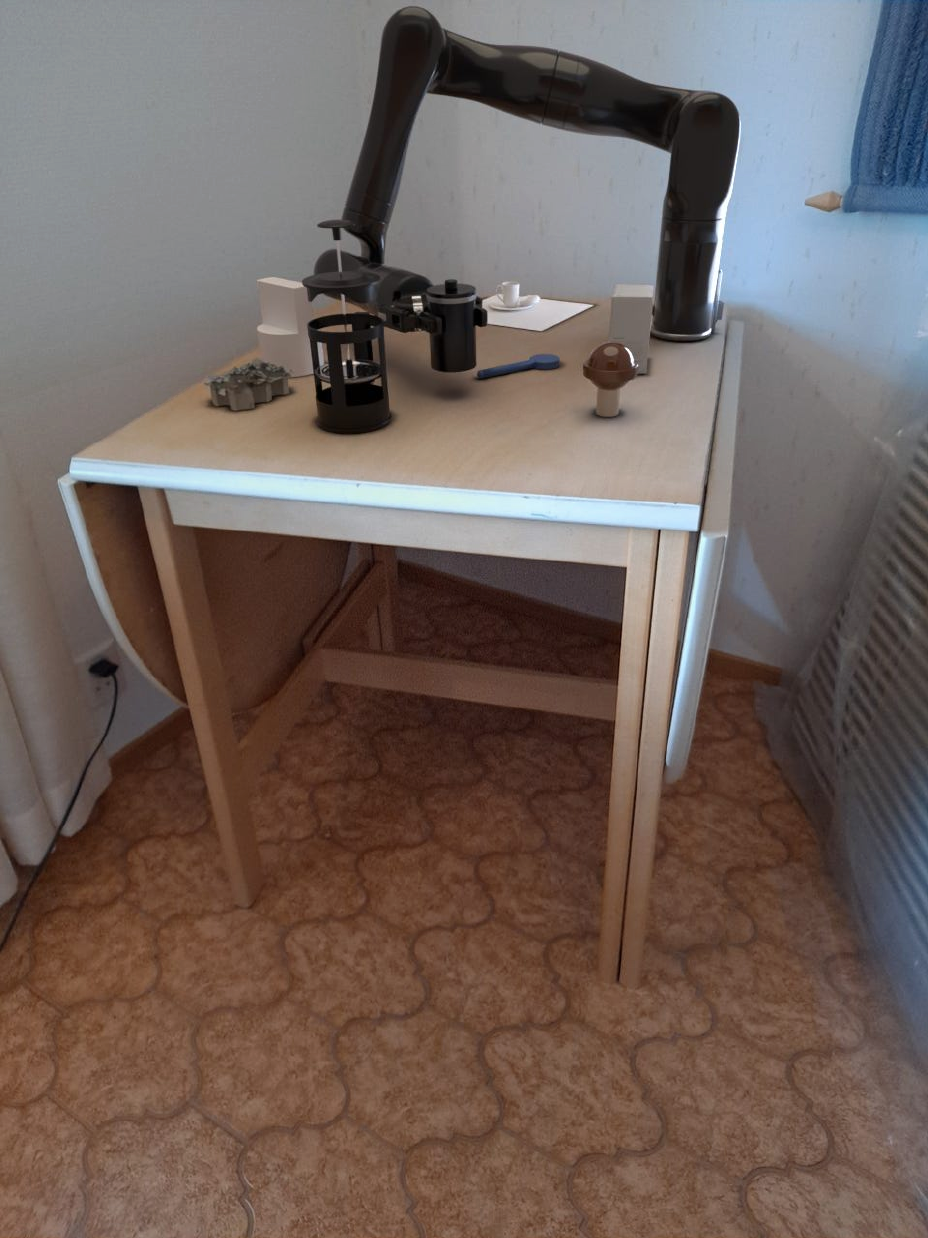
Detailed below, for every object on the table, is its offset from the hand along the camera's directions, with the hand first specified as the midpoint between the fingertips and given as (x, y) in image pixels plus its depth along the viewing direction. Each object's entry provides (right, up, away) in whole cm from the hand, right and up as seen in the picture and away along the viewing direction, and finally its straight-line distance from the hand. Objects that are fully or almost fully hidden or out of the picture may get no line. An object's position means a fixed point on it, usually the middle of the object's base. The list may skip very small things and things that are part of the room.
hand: (462, 322), depth 109 cm
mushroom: (+18, -12, 0) cm, 21 cm away
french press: (-13, -12, 0) cm, 18 cm away
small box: (+24, -1, +16) cm, 29 cm away
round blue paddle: (+8, -2, +15) cm, 17 cm away
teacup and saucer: (+10, +17, +44) cm, 49 cm away
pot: (-1, -4, +5) cm, 6 cm away
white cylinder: (-25, 0, +19) cm, 31 cm away
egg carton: (-29, -8, +8) cm, 31 cm away
